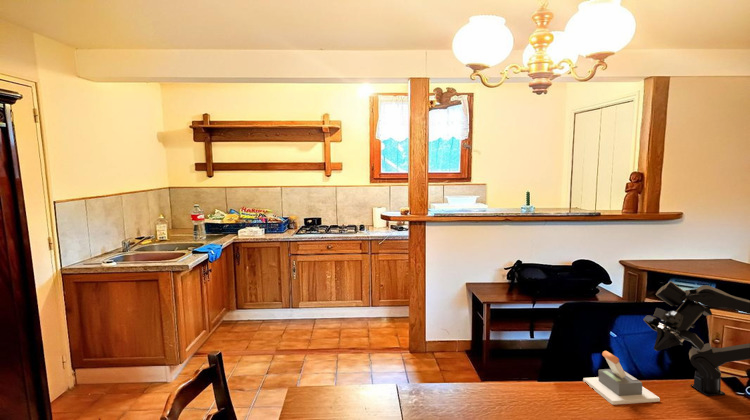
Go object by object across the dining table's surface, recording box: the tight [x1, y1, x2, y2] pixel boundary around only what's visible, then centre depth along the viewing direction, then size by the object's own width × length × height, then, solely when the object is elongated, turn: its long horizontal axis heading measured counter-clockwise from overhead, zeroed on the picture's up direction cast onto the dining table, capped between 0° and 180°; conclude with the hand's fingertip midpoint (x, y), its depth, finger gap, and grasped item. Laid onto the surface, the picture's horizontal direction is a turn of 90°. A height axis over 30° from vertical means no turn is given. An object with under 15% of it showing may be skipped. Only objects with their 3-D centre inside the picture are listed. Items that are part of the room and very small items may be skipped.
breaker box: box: [582, 368, 661, 406], centre depth 130 cm, size 16×15×5 cm
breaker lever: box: [601, 350, 626, 378], centre depth 129 cm, size 2×5×8 cm, turn 6°
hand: (655, 349), depth 130 cm, fingers closed
